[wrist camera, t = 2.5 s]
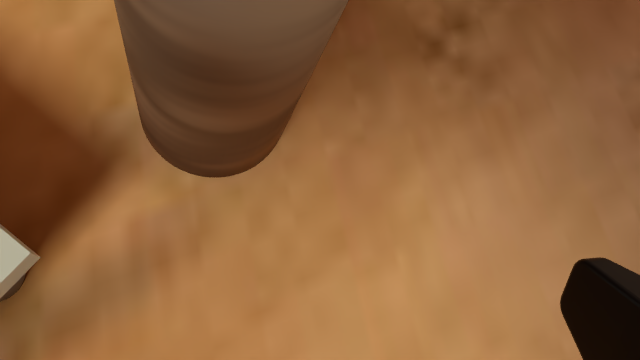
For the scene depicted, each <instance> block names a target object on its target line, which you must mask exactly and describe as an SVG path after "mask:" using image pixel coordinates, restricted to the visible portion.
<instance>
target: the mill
mask: <svg viewBox="0 0 640 360" xmlns="http://www.w3.org/2000/svg"><path fill="white" fill-rule="evenodd" d="M114 2H115V7H116V11H117V16H118V20H119V25H120V29H121V34H122V38H123V43H124V47H125V52H126V56H127V61H128V65H129V70H130V74H131V79H132V83H133V88H134V92H135V97H136V101H137V106H138V110H139V115H140V119H141V123H142V127H143V130H144V132H145V134H146V137H147V138H148V140H149V142H150V143H151V145H152V146H153V147H154V149H155V150H156V151H157V152H158V153H159V154H160V155H161V156H162V157H163V158H164V159H165V160H166V161H168V162H169V163H170V164H172V165H173V166H175V167H177V168H179V169H181V170H183V171H185V172H188V173H190V174H194V175H198V176H204V177H226V176H232V175H236V174H239V173H242V172H244V171H247V170H249V169H251V168H252V167H254V166H256V165H257V164H258V163H260V162H261V161H262V160H264V159H265V158H266V157H267V156H268V155H269V154H270V152H271V151H272V150H273V148H274V147H275V145H276V144H277V142H278V140H279V138H280V136H281V134H282V132H283V130H284V128H285V126H286V124H287V122H288V120H289V118H290V116H291V114H292V112H293V110H294V108H295V106H296V104H297V102H298V100H299V98H300V96H301V94H302V92H303V90H304V88H305V86H306V84H307V82H308V80H309V78H310V76H311V74H312V72H313V70H314V68H315V66H316V64H317V62H318V60H319V58H320V56H321V54H322V52H323V50H324V48H325V46H326V44H327V42H328V40H329V38H330V36H331V34H332V32H333V30H334V28H335V26H336V24H337V22H338V20H339V18H340V16H341V14H342V12H343V10H344V8H345V6H346V4H347V2H348V0H114Z"/></svg>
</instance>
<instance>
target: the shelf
mask: <svg viewBox="0 0 640 360" xmlns="http://www.w3.org/2000/svg"><path fill="white" fill-rule="evenodd" d="M40 258H41V257H40V256H38V255H37V254H36V253H35V252H34V251H32V250H31V249H30V248H29V247H28V246H26V245H25V244H24V243H23V242H21V241H20V240H19V239H18V238H17V237H15V236H14V235H13V234H12V233H11V232H9V231H8V230H7V229H6V228H5V227H3V226H2V225H1V224H0V301H3V300H5V299H7V298H9V297H11V296H12V295H14V294H15V293H16V292H17V291H18V290H19V288H20V287H21V285H22V283H23V281H24V279H25V274H26V272H27V271H28V270H29V269H30V268H31V267H32V266H33V265H34V264H35V263H36V262H37V261H38V260H39V259H40Z"/></svg>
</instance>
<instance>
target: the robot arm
mask: <svg viewBox="0 0 640 360" xmlns="http://www.w3.org/2000/svg"><path fill="white" fill-rule="evenodd" d="M560 306H561V311H562V314H563V317H564V319H565V321H566V323H567V326H568V328H569V330H570V332H571V334H572V336H573V339H574V341H575V343H576V345H577V347H578V349H579V352H580V354H581V356H582V358H583V360H640V275H638V274H636V273H634V272H632V271H630V270H628V269H626V268H624V267H622V266H620V265H618V264H616V263H614V262H612V261H610V260H608V259H606V258H588V259H581V260H579V261H577V262H576V263H575V264H574V266H573V269H572V271H571V273H570V276H569V278H568V281H567V283H566V286H565V288H564V291H563V293H562V296H561V301H560Z"/></svg>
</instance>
